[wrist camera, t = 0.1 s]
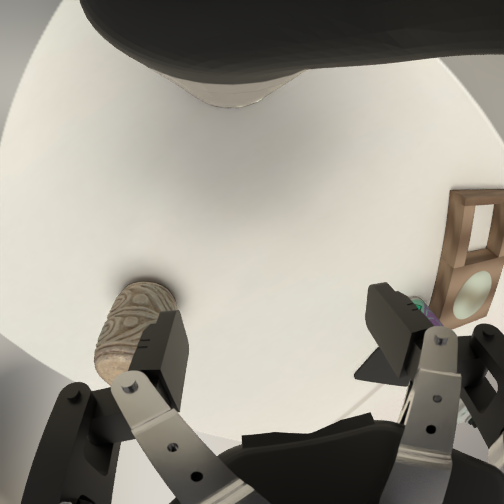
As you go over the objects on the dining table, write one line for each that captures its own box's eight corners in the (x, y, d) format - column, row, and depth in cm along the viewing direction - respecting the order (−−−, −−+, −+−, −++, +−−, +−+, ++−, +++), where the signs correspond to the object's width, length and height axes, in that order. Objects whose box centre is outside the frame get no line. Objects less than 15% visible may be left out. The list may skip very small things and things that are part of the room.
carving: (188, 319, 33) (176, 402, 22) (130, 321, 33) (101, 398, 22) (178, 271, 30) (156, 353, 19) (114, 276, 30) (72, 350, 19)
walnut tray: (450, 190, 28) (466, 198, 25) (503, 189, 28) (518, 196, 25) (424, 323, 37) (434, 336, 34) (476, 306, 37) (486, 316, 34)
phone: (380, 345, 37) (435, 359, 41) (378, 341, 38) (433, 356, 41) (351, 378, 40) (409, 387, 43) (349, 375, 41) (407, 384, 44)
